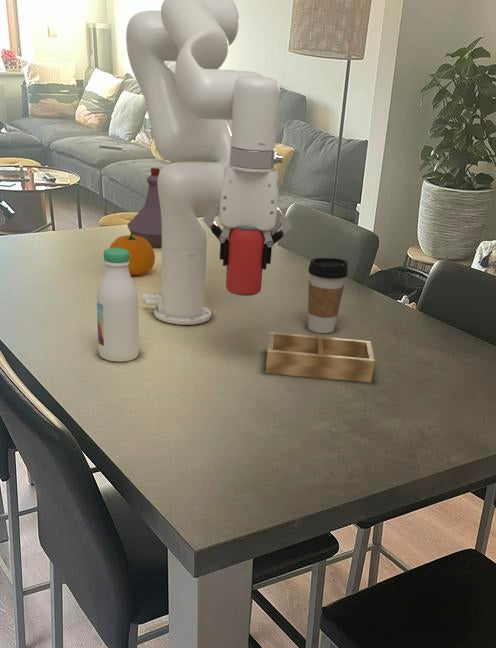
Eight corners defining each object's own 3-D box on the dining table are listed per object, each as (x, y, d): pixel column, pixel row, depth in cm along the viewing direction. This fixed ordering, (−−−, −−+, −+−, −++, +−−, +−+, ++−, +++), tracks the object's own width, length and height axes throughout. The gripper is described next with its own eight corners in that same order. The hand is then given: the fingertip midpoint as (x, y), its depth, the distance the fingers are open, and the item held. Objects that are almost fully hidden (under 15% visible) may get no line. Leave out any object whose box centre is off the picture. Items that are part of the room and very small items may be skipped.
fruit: (164, 272, 200) (164, 232, 194) (134, 281, 191) (134, 240, 186) (129, 262, 205) (128, 223, 199) (98, 271, 196) (97, 230, 191)
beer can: (224, 285, 146) (228, 219, 140) (259, 286, 147) (264, 221, 140) (226, 296, 141) (230, 227, 134) (262, 297, 141) (267, 229, 135)
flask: (118, 246, 217) (116, 170, 206) (135, 233, 231) (135, 161, 220) (175, 253, 216) (176, 176, 205) (189, 240, 229) (191, 167, 218)
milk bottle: (145, 352, 153) (145, 249, 142) (127, 365, 147) (125, 258, 136) (110, 345, 155) (107, 242, 144) (91, 358, 149) (86, 251, 138)
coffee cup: (337, 337, 169) (347, 268, 160) (299, 332, 170) (306, 262, 161) (341, 325, 175) (350, 258, 167) (304, 320, 177) (312, 253, 168)
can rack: (265, 373, 149) (267, 351, 146) (267, 353, 158) (269, 331, 155) (371, 383, 149) (374, 360, 146) (367, 362, 158) (370, 341, 155)
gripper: (302, 160, 135) (292, 264, 144) (203, 151, 135) (199, 256, 144) (302, 167, 128) (291, 275, 138) (198, 158, 128) (195, 267, 138)
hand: (244, 264), depth 141 cm, fingers closed on beer can, 6 cm apart
